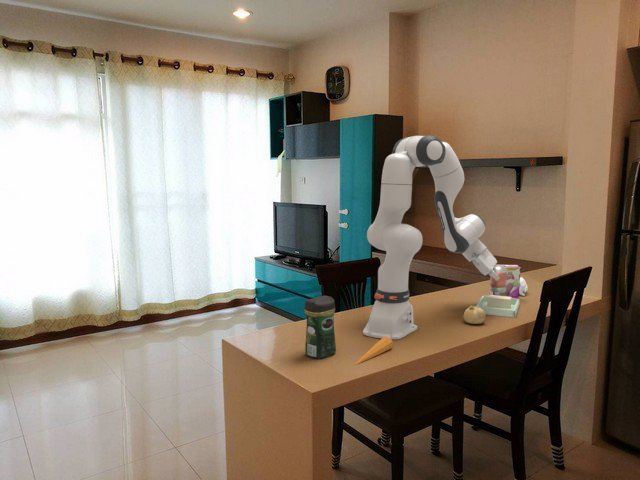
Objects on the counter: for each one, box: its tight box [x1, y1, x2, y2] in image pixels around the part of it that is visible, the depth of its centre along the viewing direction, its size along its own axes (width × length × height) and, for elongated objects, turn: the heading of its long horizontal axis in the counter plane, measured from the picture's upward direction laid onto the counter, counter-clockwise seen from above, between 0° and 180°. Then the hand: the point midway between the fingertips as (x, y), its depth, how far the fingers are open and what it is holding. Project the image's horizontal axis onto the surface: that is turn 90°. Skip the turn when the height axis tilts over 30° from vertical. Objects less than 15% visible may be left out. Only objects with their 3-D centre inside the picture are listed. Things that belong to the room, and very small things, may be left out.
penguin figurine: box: [519, 276, 529, 297], centre depth 233 cm, size 6×8×12 cm
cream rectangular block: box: [487, 294, 511, 309], centre depth 209 cm, size 5×9×4 cm, turn 64°
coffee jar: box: [304, 295, 337, 359], centre depth 157 cm, size 10×8×19 cm
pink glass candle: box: [489, 264, 507, 293], centre depth 199 cm, size 6×6×10 cm
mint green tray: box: [474, 295, 520, 319], centre depth 205 cm, size 20×15×4 cm
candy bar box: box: [490, 264, 522, 299], centre depth 218 cm, size 11×5×16 cm, turn 84°
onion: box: [463, 305, 487, 325], centre depth 189 cm, size 8×8×7 cm
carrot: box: [354, 337, 394, 366], centre depth 156 cm, size 20×4×4 cm, turn 141°
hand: (499, 277), depth 199 cm, fingers closed on pink glass candle, 6 cm apart
